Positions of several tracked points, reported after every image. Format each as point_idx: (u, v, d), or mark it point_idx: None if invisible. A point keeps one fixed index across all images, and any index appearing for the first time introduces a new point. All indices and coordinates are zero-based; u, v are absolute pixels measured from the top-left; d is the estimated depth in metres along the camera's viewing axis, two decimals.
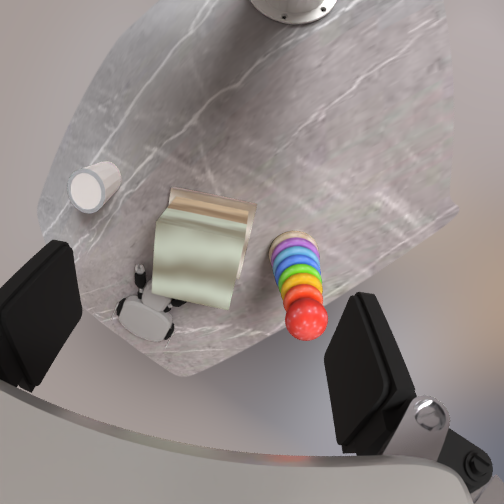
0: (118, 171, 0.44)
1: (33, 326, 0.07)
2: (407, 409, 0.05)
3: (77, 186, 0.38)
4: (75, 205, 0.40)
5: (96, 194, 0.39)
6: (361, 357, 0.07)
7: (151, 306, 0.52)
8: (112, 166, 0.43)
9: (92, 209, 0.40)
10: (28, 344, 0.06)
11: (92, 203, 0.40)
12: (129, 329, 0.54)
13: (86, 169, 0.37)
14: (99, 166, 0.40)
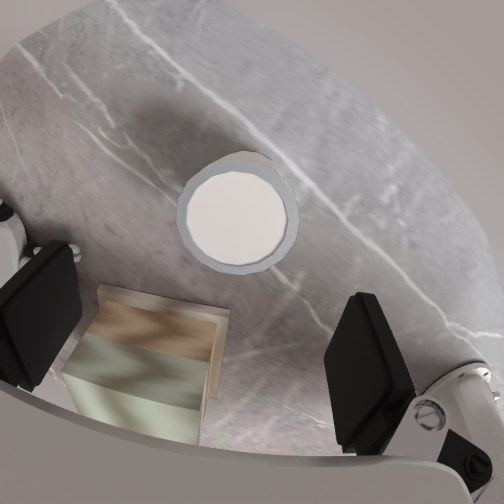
0: None
1: (33, 326, 0.07)
2: (407, 409, 0.05)
3: (250, 197, 0.16)
4: (195, 182, 0.16)
5: (229, 252, 0.18)
6: (361, 357, 0.07)
7: None
8: None
9: (188, 234, 0.17)
10: (28, 344, 0.06)
11: (204, 236, 0.17)
12: None
13: (294, 231, 0.17)
14: None
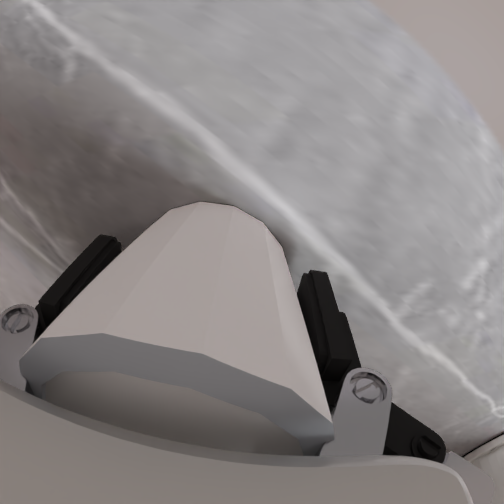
0: None
1: None
2: (343, 379, 0.06)
3: (193, 425, 0.05)
4: (34, 371, 0.04)
5: None
6: None
7: None
8: None
9: None
10: None
11: None
12: None
13: None
14: None
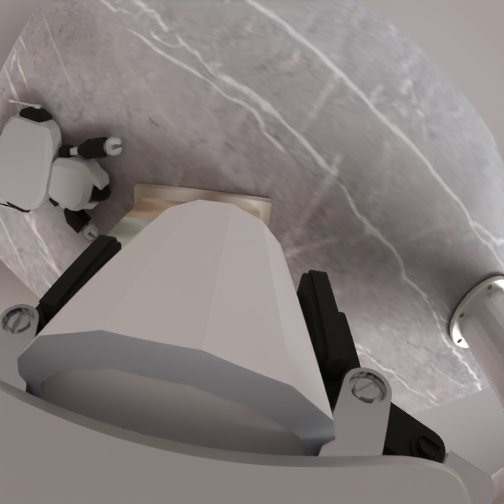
0: None
1: None
2: (342, 379, 0.06)
3: (192, 423, 0.05)
4: (33, 370, 0.04)
5: None
6: None
7: (53, 180, 0.24)
8: None
9: None
10: None
11: None
12: (2, 140, 0.22)
13: None
14: None
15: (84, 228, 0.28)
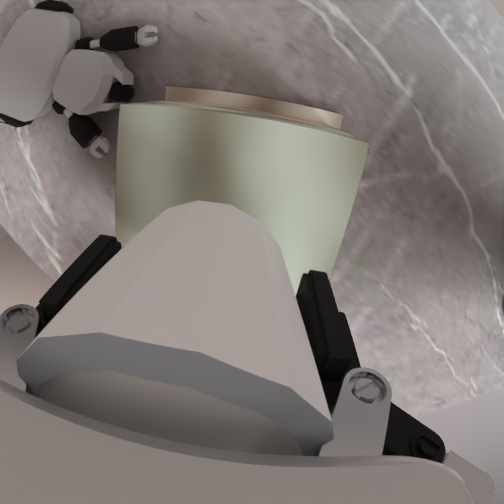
0: None
1: None
2: (342, 379, 0.06)
3: (191, 424, 0.05)
4: (32, 371, 0.04)
5: None
6: (306, 329, 0.08)
7: (62, 75, 0.16)
8: None
9: None
10: None
11: None
12: (8, 37, 0.14)
13: None
14: None
15: (92, 142, 0.21)
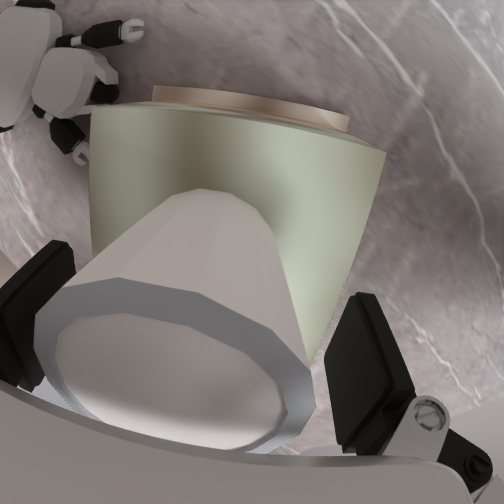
0: None
1: (33, 326, 0.07)
2: (407, 409, 0.05)
3: (187, 370, 0.06)
4: (49, 323, 0.05)
5: (161, 437, 0.07)
6: (361, 357, 0.07)
7: (41, 76, 0.14)
8: None
9: (75, 401, 0.07)
10: (28, 344, 0.06)
11: (104, 410, 0.07)
12: None
13: (300, 422, 0.06)
14: None
15: (74, 148, 0.18)
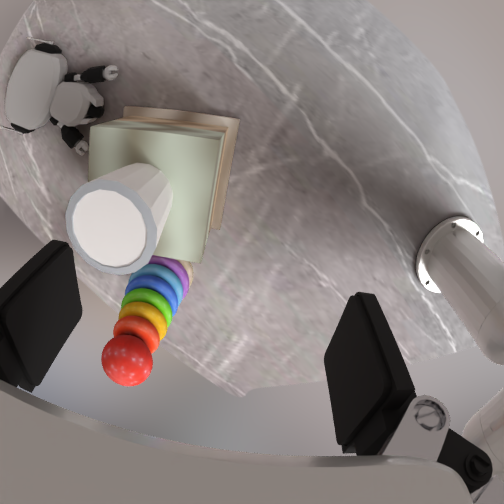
0: None
1: (33, 326, 0.07)
2: (407, 409, 0.05)
3: (116, 210, 0.18)
4: (75, 199, 0.17)
5: (107, 255, 0.19)
6: (361, 357, 0.07)
7: (56, 100, 0.26)
8: None
9: (76, 241, 0.19)
10: (28, 344, 0.06)
11: (87, 242, 0.19)
12: (16, 69, 0.23)
13: (155, 239, 0.19)
14: (161, 231, 0.21)
15: (77, 144, 0.30)
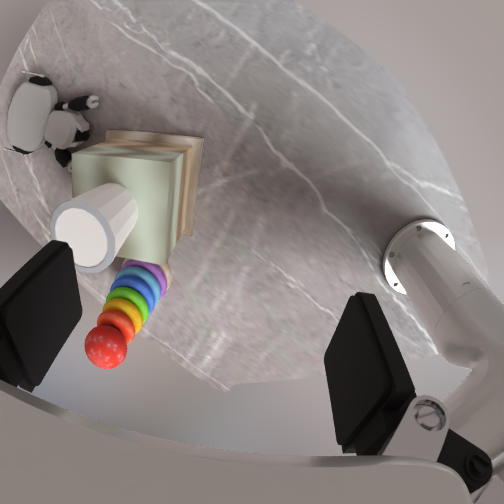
0: None
1: (33, 326, 0.07)
2: (407, 409, 0.05)
3: (85, 223, 0.22)
4: (56, 215, 0.22)
5: (81, 258, 0.24)
6: (361, 357, 0.07)
7: (48, 126, 0.31)
8: (129, 232, 0.29)
9: None
10: (28, 344, 0.06)
11: None
12: (14, 99, 0.28)
13: (114, 245, 0.23)
14: (124, 238, 0.26)
15: (68, 164, 0.35)
